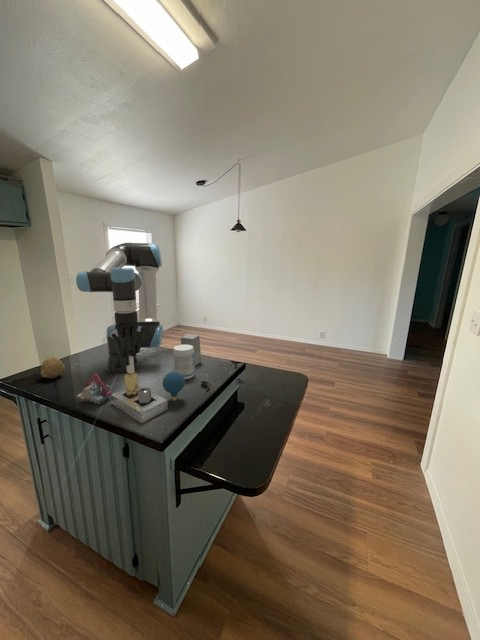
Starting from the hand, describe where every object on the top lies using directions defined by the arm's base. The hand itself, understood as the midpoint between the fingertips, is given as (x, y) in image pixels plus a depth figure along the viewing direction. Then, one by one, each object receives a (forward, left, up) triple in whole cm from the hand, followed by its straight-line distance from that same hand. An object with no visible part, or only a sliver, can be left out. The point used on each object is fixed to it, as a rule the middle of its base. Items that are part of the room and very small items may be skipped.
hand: (130, 372), depth 96 cm
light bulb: (+11, +11, -13) cm, 21 cm away
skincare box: (-12, +42, -13) cm, 46 cm away
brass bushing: (0, 0, -13) cm, 13 cm away
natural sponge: (-49, -10, -13) cm, 52 cm away
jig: (+4, 0, -13) cm, 14 cm away
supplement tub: (-3, +29, -13) cm, 32 cm away
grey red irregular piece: (-14, -7, -13) cm, 20 cm away
